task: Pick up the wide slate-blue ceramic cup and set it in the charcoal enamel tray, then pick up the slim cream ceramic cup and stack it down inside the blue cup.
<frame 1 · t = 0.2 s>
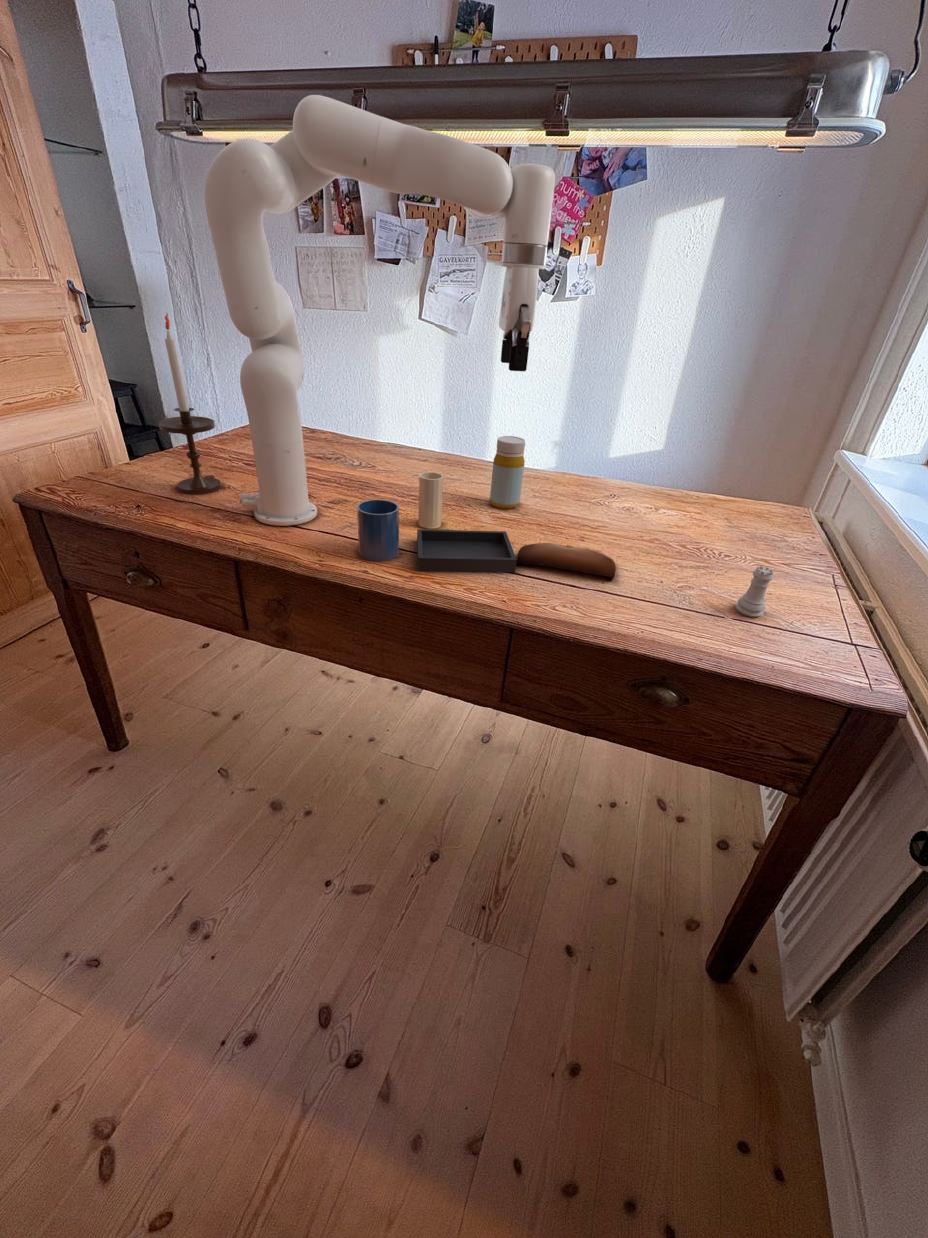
hand: (512, 366, 103), 31 cm above the table, tool pointing down, fingers open, 9 cm apart
candlestick: (200, 488, 125), on the table
small cup: (429, 524, 115), on the table
big cup: (379, 552, 103), on the table
rook chess piece: (748, 612, 93), on the table
bottle: (504, 505, 128), on the table
sunglasses case: (565, 566, 103), on the table
tray: (464, 556, 104), on the table
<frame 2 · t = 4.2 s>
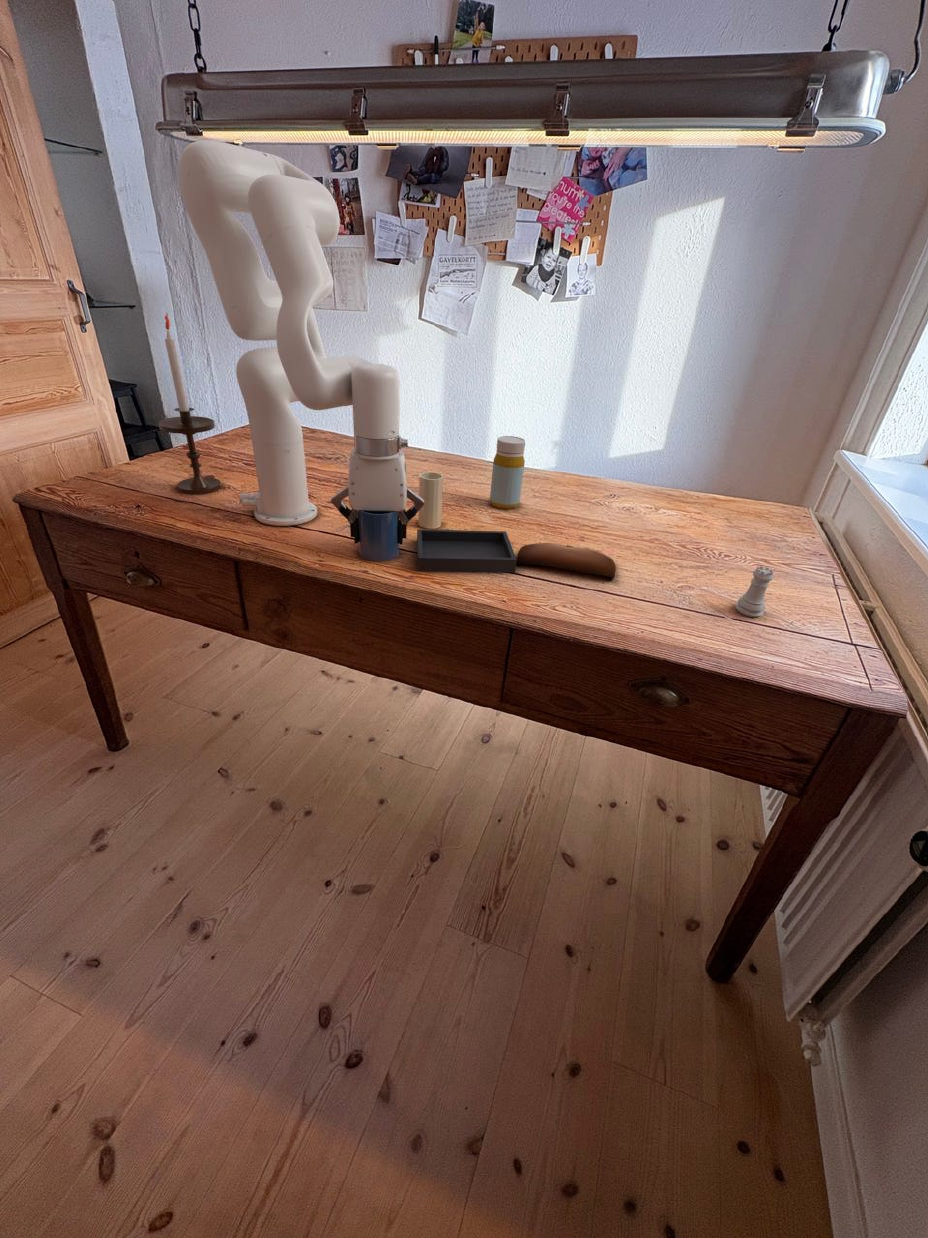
hand: (379, 540, 101), 2 cm above the table, tool pointing down, fingers closed on big cup, 7 cm apart
big cup: (379, 552, 103), on the table, touching gripper
everything else where it was.
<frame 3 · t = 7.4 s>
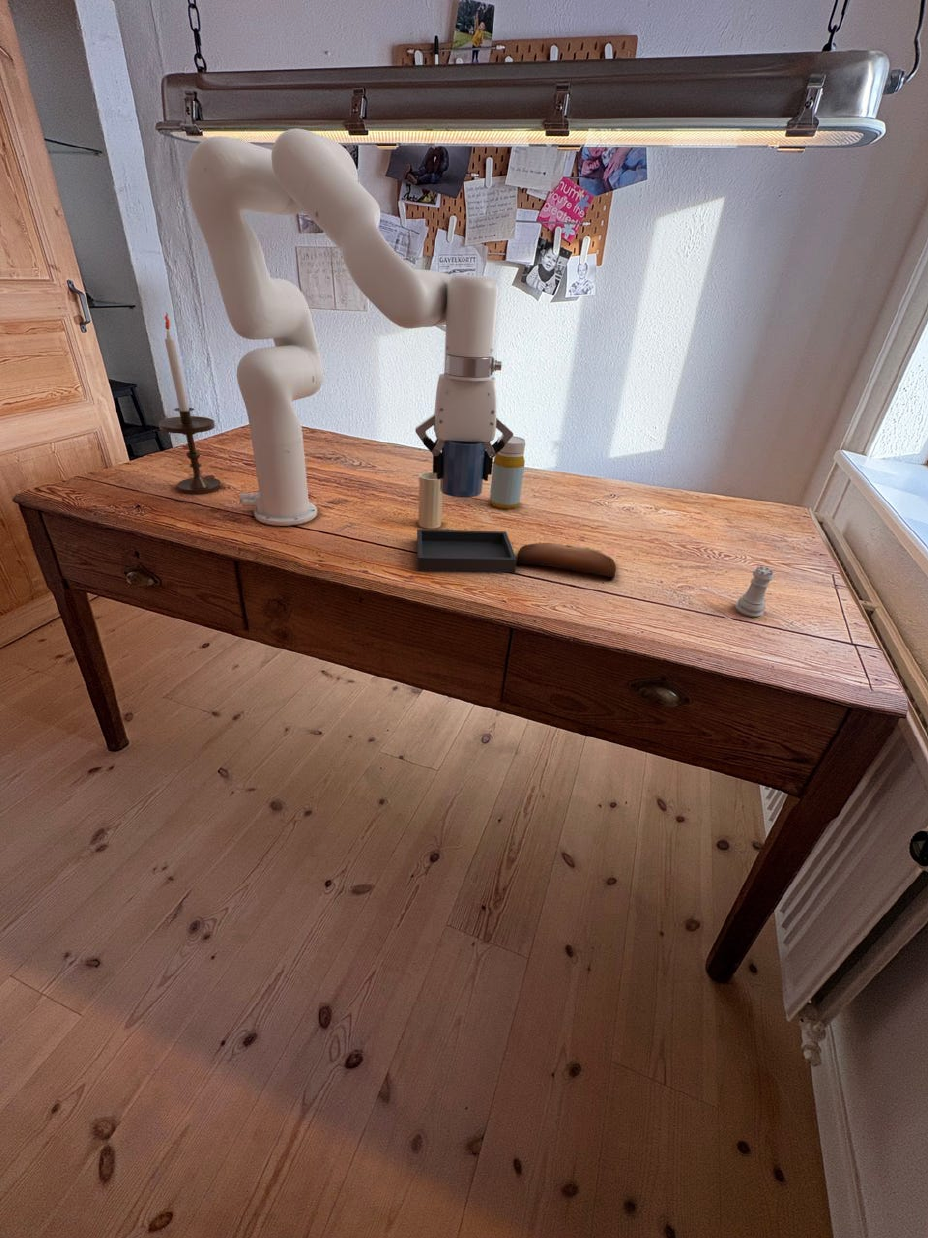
hand: (461, 476, 95), 15 cm above the table, tool pointing down, fingers closed on big cup, 7 cm apart
big cup: (461, 490, 96), point 13 cm above the table, touching gripper
everything else where it was.
when the fingers open (3 cm above the table, at t = 10.8 s): big cup stays where it is, resting on tray.
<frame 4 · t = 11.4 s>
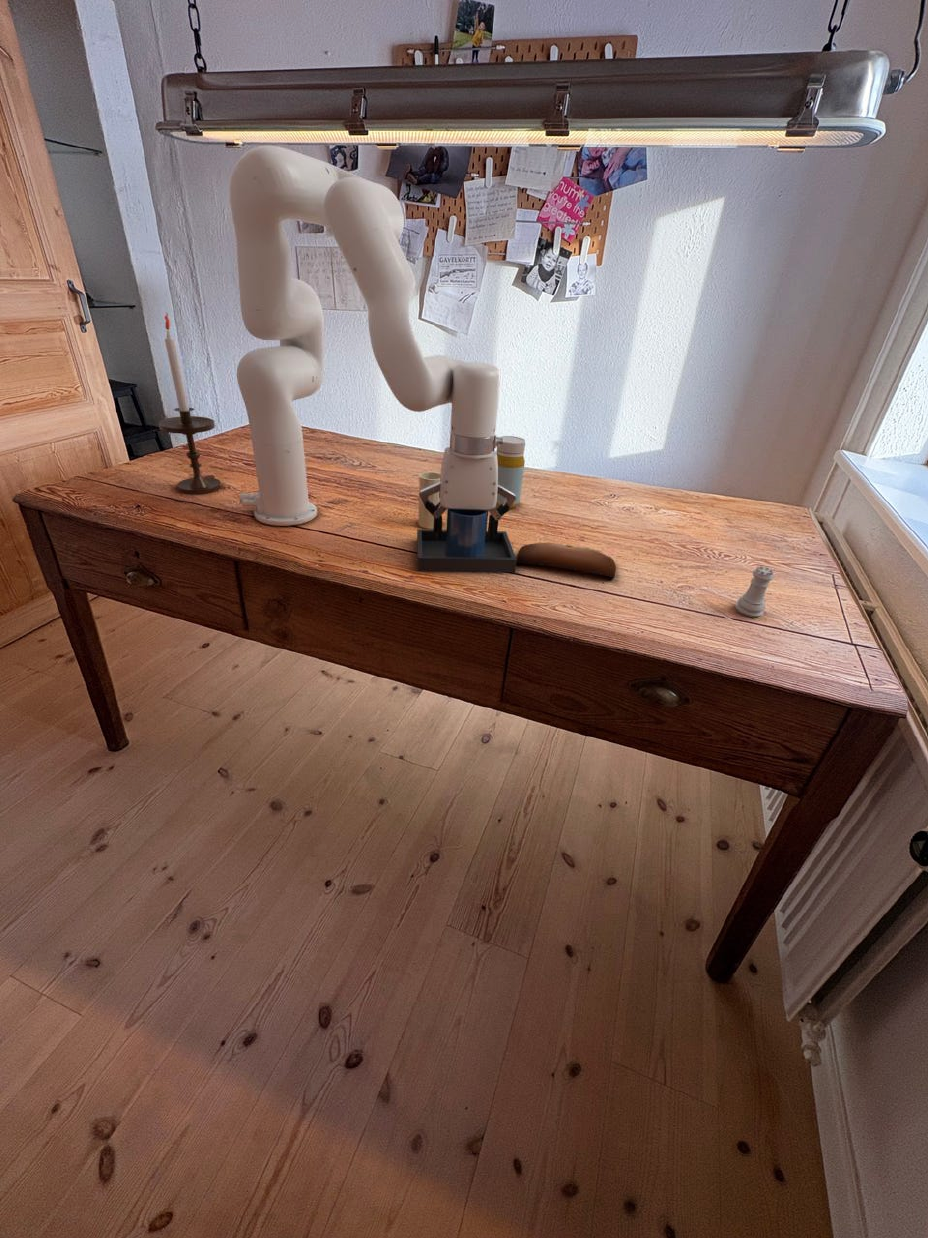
hand: (464, 536, 101), 4 cm above the table, tool pointing down, fingers open, 9 cm apart
big cup: (464, 553, 103), point 1 cm above the table, touching tray
everything else where it was.
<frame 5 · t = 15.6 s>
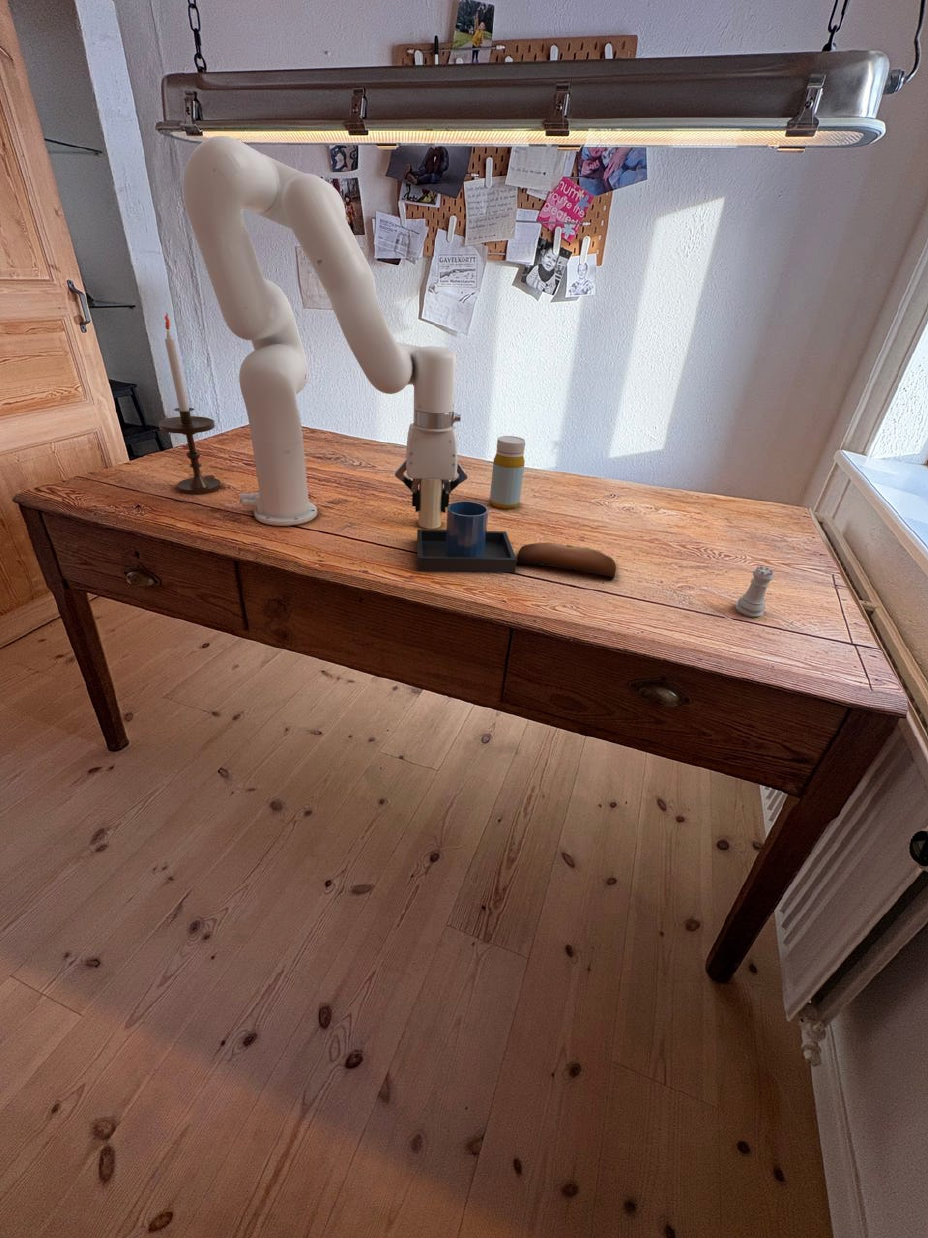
hand: (430, 508, 114), 3 cm above the table, tool pointing down, fingers closed on small cup, 4 cm apart
small cup: (429, 524, 115), on the table, touching gripper
everything else where it was.
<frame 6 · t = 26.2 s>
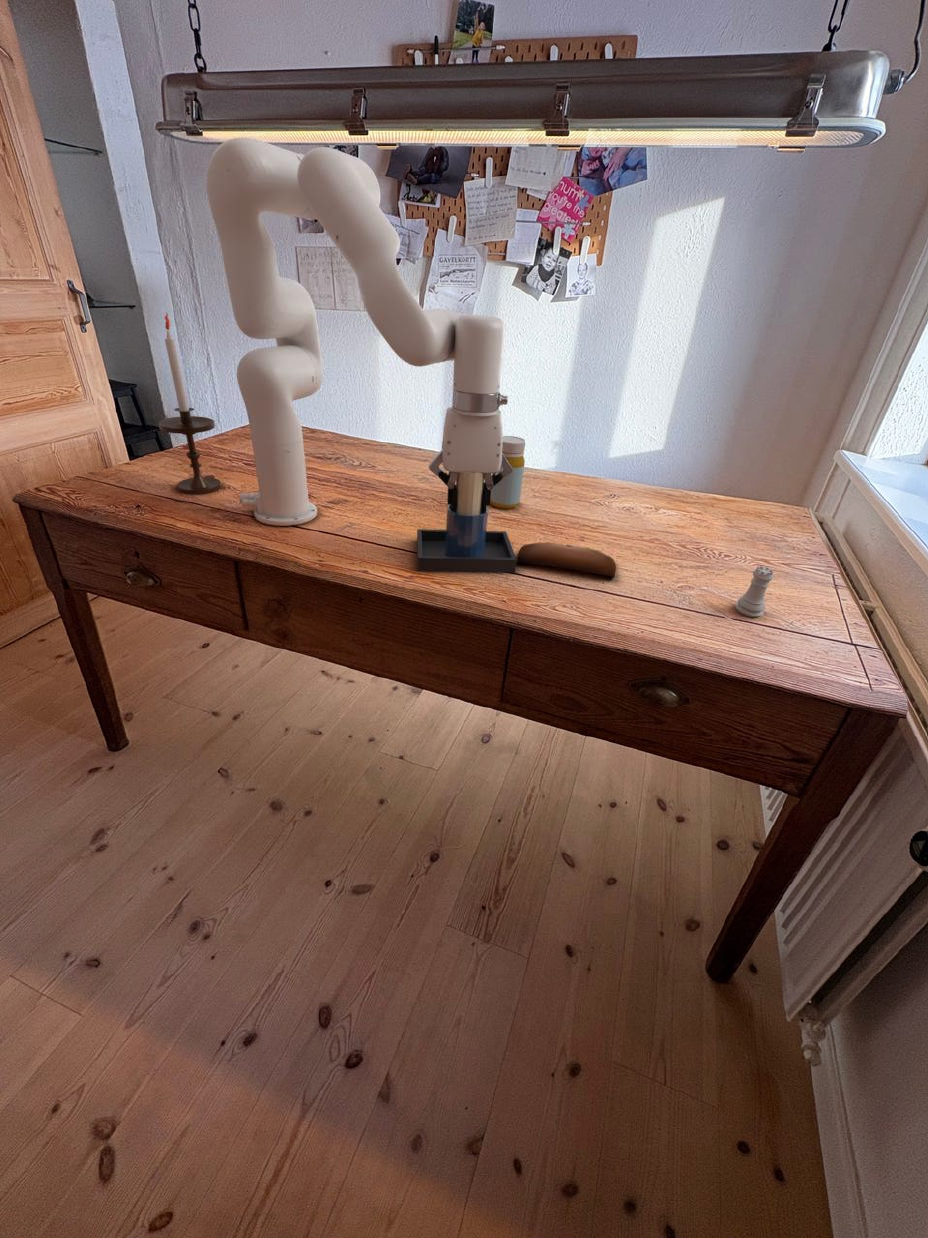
hand: (468, 507, 98), 10 cm above the table, tool pointing down, fingers closed on small cup, 4 cm apart
small cup: (467, 525, 100), point 6 cm above the table, touching gripper
big cup: (464, 553, 103), point 1 cm above the table, touching gripper, tray
everything else where it was.
when the fingers open (10 cm above the table, at t = 27.6 s): small cup drops 6 cm, resting on big cup.
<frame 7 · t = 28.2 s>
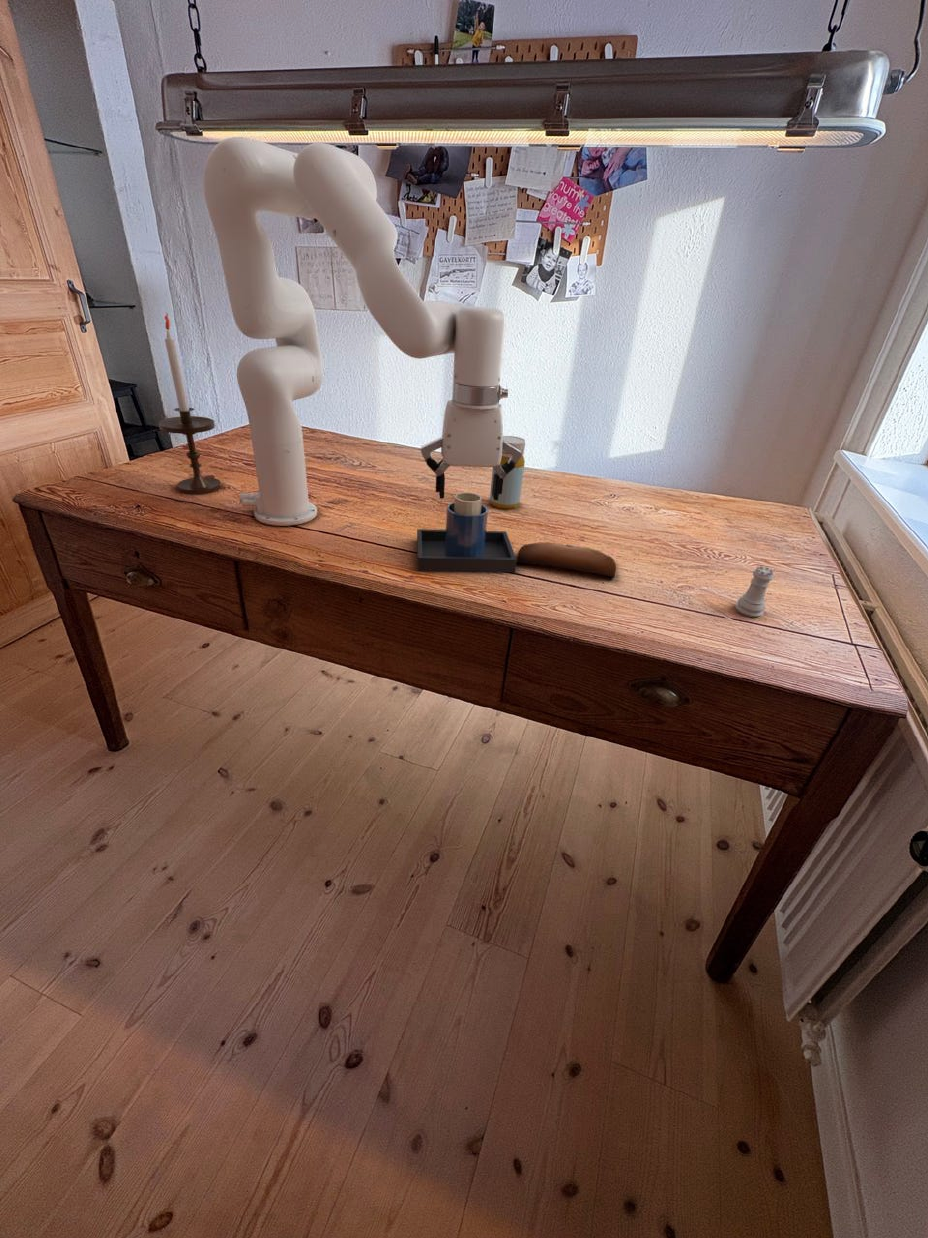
hand: (468, 496, 97), 12 cm above the table, tool pointing down, fingers open, 9 cm apart
small cup: (464, 550, 103), point 1 cm above the table, touching big cup
big cup: (464, 553, 103), point 1 cm above the table, touching small cup, tray
everything else where it was.
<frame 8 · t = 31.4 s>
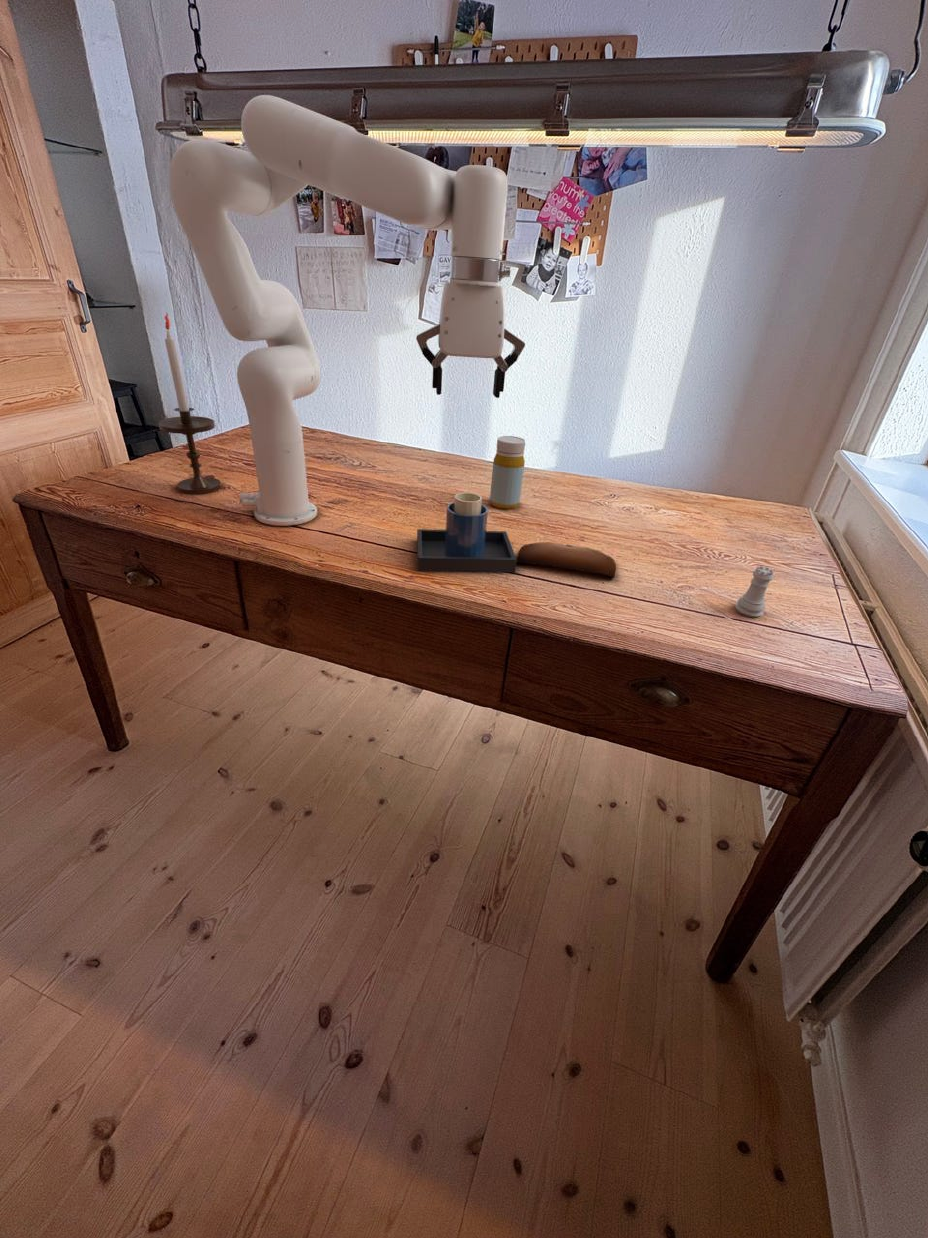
hand: (467, 394, 91), 28 cm above the table, tool pointing down, fingers open, 9 cm apart
nothing on the table moved.
at the end: big cup inside the target area in the tray (0.0 cm from its centre), point 0.6 cm above the tray's base; small cup 0.0 cm off-centre in the big cup, point 0.6 cm above the big cup's base; small cup tilted 0° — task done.
